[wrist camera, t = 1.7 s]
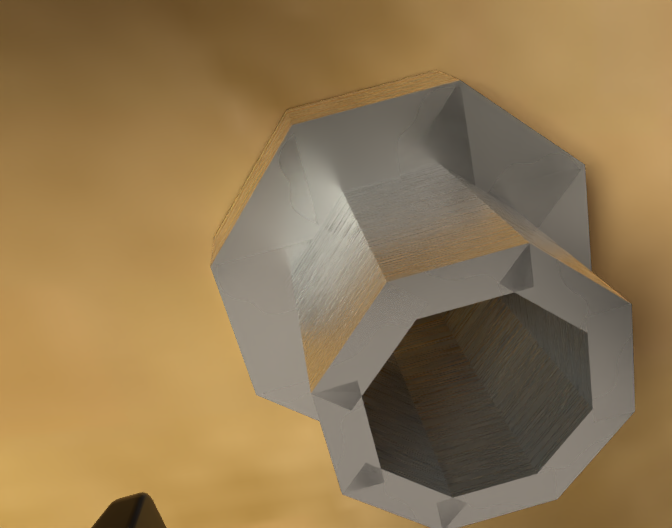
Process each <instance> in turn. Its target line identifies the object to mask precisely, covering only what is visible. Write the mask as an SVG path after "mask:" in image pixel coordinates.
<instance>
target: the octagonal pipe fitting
mask: <svg viewBox="0 0 672 528" xmlns="http://www.w3.org/2000/svg"><path fill="white" fill-rule="evenodd" d="M210 267H211V270H212V272H213V275H214V278H215V281H216V284H217V286H218V289H219V292H220V295H221V297H222V300H223V303H224V306H225V309H226V311H227V314H228V317H229V320H230V323H231V325H232V328H233V331H234V334H235V337H236V339H237V342H238V345H239V348H240V351H241V353H242V356H243V359H244V362H245V365H246V367H247V370H248V373H249V376H250V379H251V381H252V384H253V387H254V390H255V393H256V395H258V396H260V397H263V398H265V399H267V400H270V401H272V402H275V403H277V404H279V405H282V406H284V407H287V408H289V409H291V410H294V411H296V412H299V413H301V414H303V415H306V416H308V417H311V418H313V419H316V420H318V421H320V424H321V427H322V430H323V434H324V437H325V440H326V443H327V447H328V450H329V453H330V456H331V459H332V463H333V466H334V469H335V472H336V476H337V479H338V482H339V485H340V488H341V492H342V494H343V495H346V496H348V497H351V498H353V499H356V500H359V501H361V502H364V503H367V504H369V505H372V506H375V507H377V508H380V509H383V510H385V511H388V512H391V513H393V514H396V515H399V516H401V517H404V518H407V519H409V520H412V521H415V522H417V523H420V524H423V525H425V526H428V527H430V528H459V527H462V526H466V525H469V524H473V523H476V522H480V521H483V520H487V519H490V518H494V517H497V516H501V515H504V514H508V513H511V512H515V511H518V510H522V509H525V508H529V507H532V506H536V505H539V504H543V503H546V502H550V501H553V500H557V499H558V498H559V497H560V496H561V494H562V493H563V492H564V491H565V490H566V489H567V488H568V486H569V485H570V484H571V483H572V482H573V481H574V480H575V479H576V477H577V476H578V475H579V474H580V473H581V472H582V471H583V470H584V468H585V467H586V466H587V465H588V464H589V463H590V462H591V460H592V459H593V458H594V457H595V456H596V455H597V454H598V453H599V451H600V450H601V449H602V448H603V447H604V446H605V445H606V443H607V442H608V441H609V440H610V439H611V438H612V437H613V436H614V434H615V433H616V432H617V431H618V430H619V429H620V428H621V427H622V425H623V424H624V423H625V422H626V421H627V420H628V419H629V417H630V416H631V415H632V414H633V413H634V412H635V392H634V360H633V329H632V304H631V303H630V302H629V301H627V300H626V299H625V298H624V297H622V296H621V295H620V294H619V293H617V292H616V291H615V290H614V289H612V288H611V287H610V286H609V285H608V284H606V283H605V282H604V281H603V280H601V279H600V278H599V277H598V276H596V275H595V274H594V273H593V272H592V270H591V254H590V238H589V221H588V205H587V189H586V173H585V164H583V163H582V162H580V161H579V160H577V159H576V158H574V157H573V156H571V155H570V154H568V153H567V152H565V151H564V150H562V149H561V148H560V147H558V146H557V145H555V144H554V143H552V142H551V141H549V140H548V139H546V138H545V137H543V136H542V135H540V134H539V133H537V132H536V131H534V130H533V129H531V128H530V127H529V126H527V125H526V124H524V123H523V122H521V121H520V120H518V119H517V118H515V117H514V116H512V115H511V114H509V113H508V112H506V111H505V110H503V109H502V108H501V107H499V106H498V105H496V104H495V103H493V102H492V101H490V100H489V99H487V98H486V97H484V96H483V95H481V94H480V93H478V92H477V91H475V90H474V89H472V88H471V87H470V86H468V85H467V84H465V83H464V82H462V81H461V80H459V79H456V78H454V77H451V76H449V75H446V74H444V73H442V72H439V71H437V70H435V71H431V72H427V73H423V74H420V75H416V76H412V77H408V78H404V79H401V80H397V81H393V82H389V83H386V84H382V85H378V86H374V87H371V88H367V89H363V90H359V91H356V92H352V93H348V94H344V95H341V96H337V97H333V98H329V99H325V100H322V101H318V102H314V103H310V104H307V105H303V106H299V107H295V108H292V109H288V110H286V112H285V113H284V115H283V117H282V119H281V120H280V122H279V124H278V126H277V127H276V129H275V131H274V133H273V135H272V136H271V138H270V140H269V142H268V143H267V145H266V147H265V149H264V150H263V152H262V154H261V156H260V157H259V159H258V161H257V163H256V164H255V166H254V168H253V170H252V171H251V173H250V175H249V177H248V178H247V180H246V182H245V184H244V186H243V187H242V189H241V191H240V193H239V194H238V196H237V198H236V200H235V201H234V203H233V205H232V207H231V208H230V210H229V212H228V214H227V215H226V217H225V219H224V221H223V222H222V224H221V226H220V228H219V230H218V231H217V233H216V235H215V237H214V241H213V250H212V258H211V266H210Z"/></svg>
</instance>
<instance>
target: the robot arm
mask: <svg viewBox="0 0 672 528" xmlns="http://www.w3.org/2000/svg"><path fill="white" fill-rule="evenodd" d="M92 528H166V526H165V524H164V522H163V520H162V518H161V516H160V514H159V512H158V510H157V508H156V506H155V504H154V502H153V500H152V498H151V497H150V496H149V495H148V494H147V493H143V492H142V493H137V494H134V495H130V496H127V497H123V498H119V499H117V500H115V501H113V502H112V503H111V504H110V505H109V506H108V508H107V509H106V510H105V511H104V513H103V514H102V515H101V516H100V518H99V519H98V520H97V521H96V523H95V524H94V525H93V526H92Z"/></svg>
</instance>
